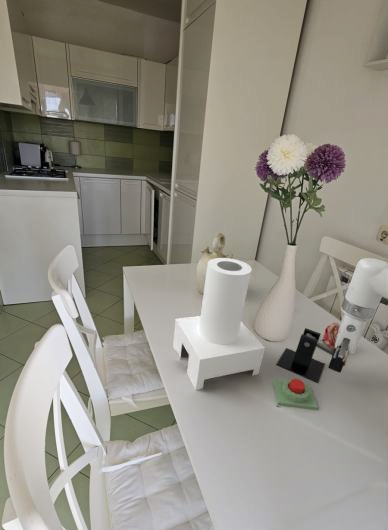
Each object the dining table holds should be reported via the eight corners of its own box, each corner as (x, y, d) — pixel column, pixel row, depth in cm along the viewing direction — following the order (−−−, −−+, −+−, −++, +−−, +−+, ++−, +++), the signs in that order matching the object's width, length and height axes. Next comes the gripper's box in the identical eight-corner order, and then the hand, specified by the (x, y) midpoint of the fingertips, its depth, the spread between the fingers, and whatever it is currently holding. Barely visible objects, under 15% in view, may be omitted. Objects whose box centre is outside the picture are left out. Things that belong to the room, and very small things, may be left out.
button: (301, 384, 79) (303, 379, 78) (304, 394, 76) (306, 389, 75) (287, 382, 79) (289, 377, 79) (290, 393, 76) (292, 387, 75)
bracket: (323, 366, 92) (336, 334, 86) (316, 385, 84) (330, 351, 79) (285, 350, 97) (294, 319, 92) (275, 367, 89) (285, 334, 84)
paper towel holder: (195, 390, 78) (210, 285, 64) (173, 346, 93) (181, 253, 79) (257, 376, 85) (283, 279, 71) (227, 337, 100) (243, 251, 86)
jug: (187, 287, 130) (192, 230, 118) (212, 280, 140) (220, 226, 128) (212, 302, 120) (221, 242, 109) (237, 293, 130) (248, 236, 118)
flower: (309, 338, 102) (326, 329, 95) (323, 325, 107) (340, 316, 100) (328, 362, 100) (347, 355, 94) (342, 347, 105) (360, 340, 98)
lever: (345, 359, 85) (350, 353, 84) (342, 368, 81) (347, 362, 80) (304, 336, 89) (308, 330, 88) (300, 344, 85) (304, 338, 84)
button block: (307, 388, 83) (311, 379, 81) (316, 412, 76) (320, 402, 74) (271, 384, 83) (274, 374, 81) (276, 407, 76) (279, 397, 74)
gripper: (373, 327, 68) (346, 388, 76) (376, 300, 81) (353, 354, 89) (337, 316, 71) (315, 375, 79) (346, 291, 84) (327, 344, 93)
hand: (336, 363), depth 84 cm, fingers closed on lever, 5 cm apart
